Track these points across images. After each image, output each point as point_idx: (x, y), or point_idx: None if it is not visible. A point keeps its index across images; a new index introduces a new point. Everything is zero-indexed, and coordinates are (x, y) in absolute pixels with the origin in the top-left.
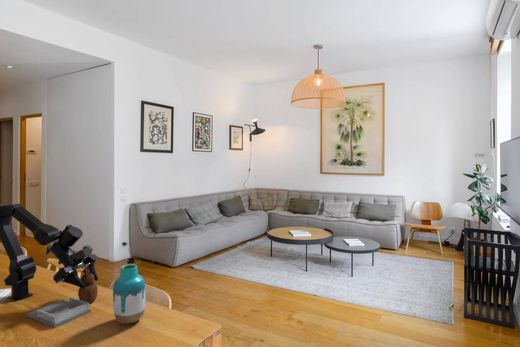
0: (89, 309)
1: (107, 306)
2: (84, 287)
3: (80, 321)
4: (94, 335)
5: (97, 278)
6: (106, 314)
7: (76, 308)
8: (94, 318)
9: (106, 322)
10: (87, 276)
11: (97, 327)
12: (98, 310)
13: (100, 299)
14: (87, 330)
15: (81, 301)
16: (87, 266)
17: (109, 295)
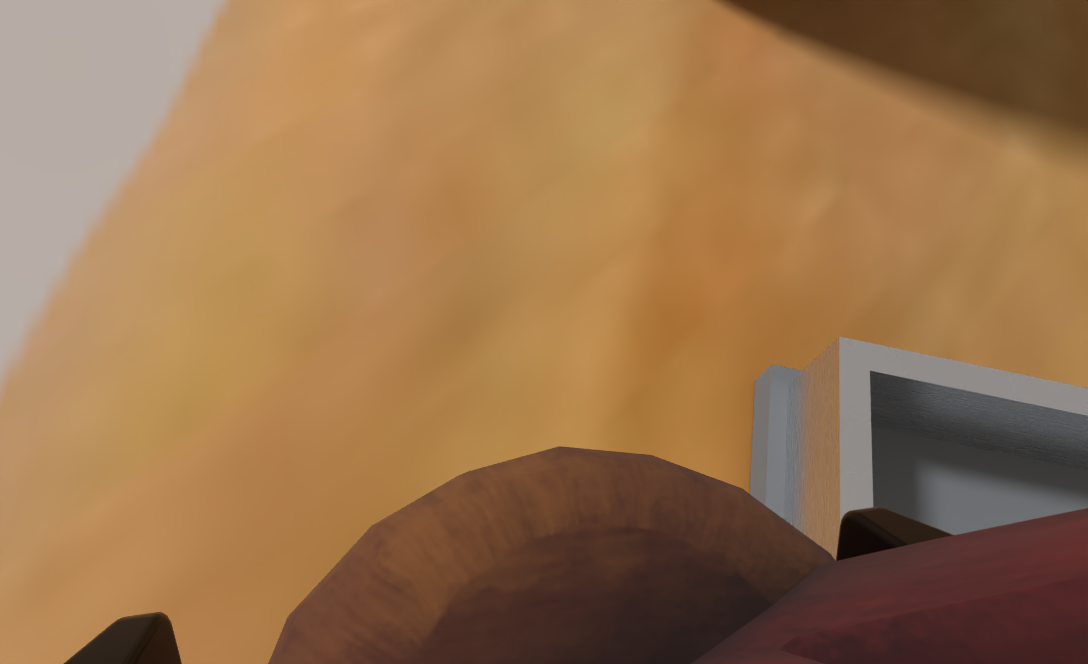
0: (786, 374)
1: (529, 277)
2: (844, 549)
3: (988, 313)
4: (1050, 14)
5: (142, 623)
6: (714, 150)
7: (1064, 387)
8: (851, 212)
9: (842, 50)
10: (786, 563)
11: (954, 69)
12: (675, 310)
13: None
14: (1044, 115)
15: None
16: None
17: (118, 544)
